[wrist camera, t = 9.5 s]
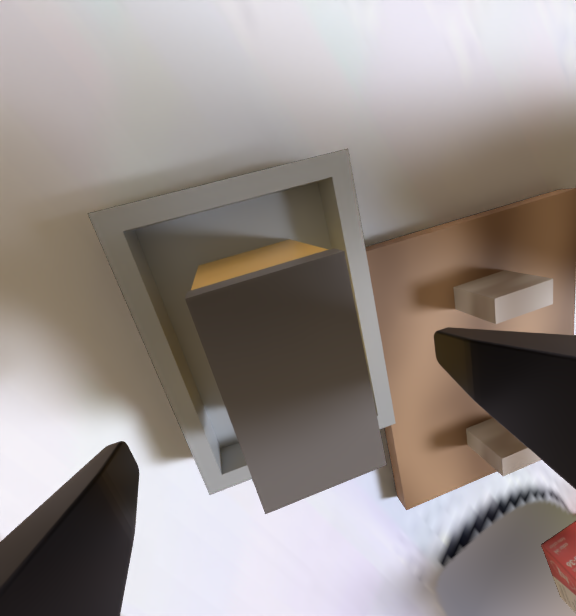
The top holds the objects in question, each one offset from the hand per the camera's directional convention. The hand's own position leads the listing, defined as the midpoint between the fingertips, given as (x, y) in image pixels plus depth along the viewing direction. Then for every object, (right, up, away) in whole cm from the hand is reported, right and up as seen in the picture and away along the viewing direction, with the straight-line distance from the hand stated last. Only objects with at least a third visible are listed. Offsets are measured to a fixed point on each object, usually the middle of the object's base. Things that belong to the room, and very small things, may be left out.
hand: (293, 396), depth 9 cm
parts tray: (-1, +2, +6) cm, 7 cm away
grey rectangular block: (-1, +2, +6) cm, 6 cm away
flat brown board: (+11, 0, +10) cm, 14 cm away
